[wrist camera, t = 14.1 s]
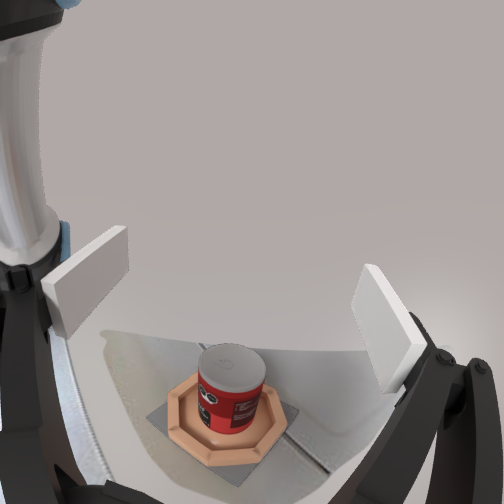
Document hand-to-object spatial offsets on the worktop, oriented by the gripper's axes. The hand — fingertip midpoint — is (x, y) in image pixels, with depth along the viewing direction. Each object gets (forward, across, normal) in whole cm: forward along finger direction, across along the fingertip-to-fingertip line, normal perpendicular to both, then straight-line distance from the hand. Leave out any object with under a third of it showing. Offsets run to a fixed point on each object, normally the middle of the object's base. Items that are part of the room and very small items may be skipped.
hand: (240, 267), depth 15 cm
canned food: (+10, 0, -29) cm, 30 cm away
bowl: (+10, 0, -30) cm, 31 cm away
